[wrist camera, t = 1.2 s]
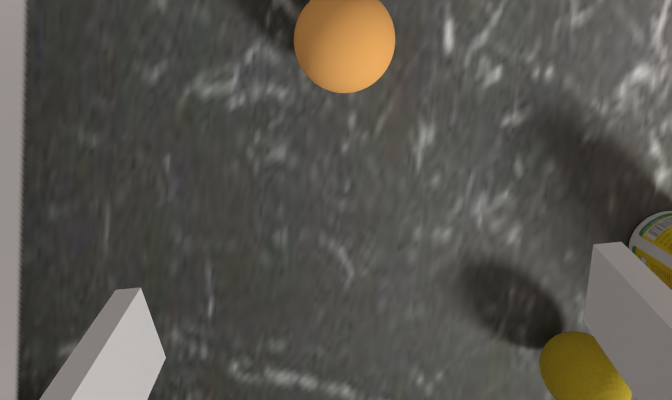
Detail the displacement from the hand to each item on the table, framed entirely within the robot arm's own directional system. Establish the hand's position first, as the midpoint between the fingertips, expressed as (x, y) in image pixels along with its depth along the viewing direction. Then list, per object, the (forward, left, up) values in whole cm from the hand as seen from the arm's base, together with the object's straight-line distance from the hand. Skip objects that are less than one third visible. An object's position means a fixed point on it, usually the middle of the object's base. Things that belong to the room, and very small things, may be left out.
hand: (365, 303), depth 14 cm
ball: (+4, +6, -18) cm, 19 cm away
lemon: (+10, -23, -21) cm, 32 cm away
